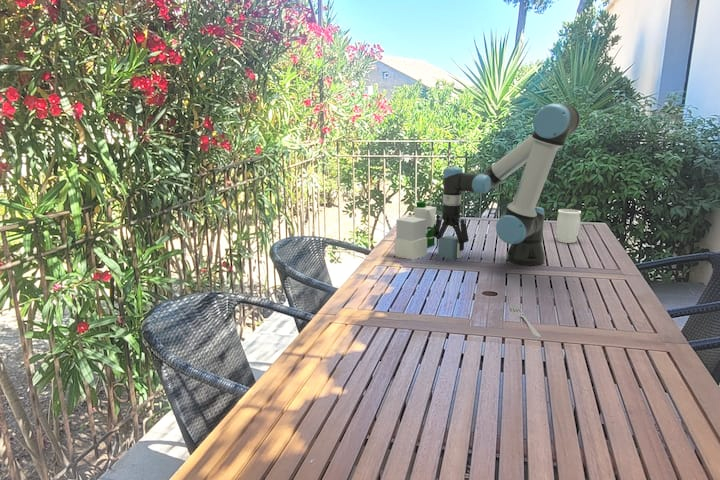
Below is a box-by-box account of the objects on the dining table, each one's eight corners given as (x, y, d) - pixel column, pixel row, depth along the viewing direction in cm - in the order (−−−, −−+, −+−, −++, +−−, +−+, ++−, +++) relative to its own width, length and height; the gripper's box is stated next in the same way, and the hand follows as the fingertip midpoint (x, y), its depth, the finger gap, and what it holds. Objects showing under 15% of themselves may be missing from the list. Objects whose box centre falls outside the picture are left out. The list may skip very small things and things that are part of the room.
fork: (536, 341, 139) (536, 335, 139) (508, 308, 163) (508, 303, 162) (547, 341, 139) (548, 335, 139) (518, 308, 163) (518, 303, 162)
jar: (581, 244, 240) (585, 212, 236) (559, 244, 240) (562, 212, 237) (573, 238, 250) (576, 208, 247) (551, 238, 251) (554, 208, 247)
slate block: (461, 255, 221) (461, 237, 219) (451, 259, 216) (452, 240, 214) (447, 252, 226) (448, 235, 224) (438, 256, 221) (438, 238, 219)
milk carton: (420, 242, 245) (421, 200, 240) (437, 244, 240) (438, 202, 235) (411, 245, 238) (412, 203, 233) (428, 248, 233) (429, 205, 228)
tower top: (425, 237, 220) (426, 219, 218) (412, 241, 214) (413, 222, 212) (409, 234, 226) (409, 216, 225) (396, 237, 220) (396, 219, 218)
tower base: (426, 255, 222) (427, 237, 220) (412, 260, 215) (412, 241, 213) (408, 251, 229) (409, 233, 227) (394, 255, 222) (394, 237, 220)
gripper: (425, 202, 221) (423, 252, 226) (469, 208, 206) (466, 262, 211) (435, 200, 226) (433, 249, 231) (479, 206, 211) (476, 258, 216)
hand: (449, 255), depth 221 cm, fingers open, 9 cm apart
